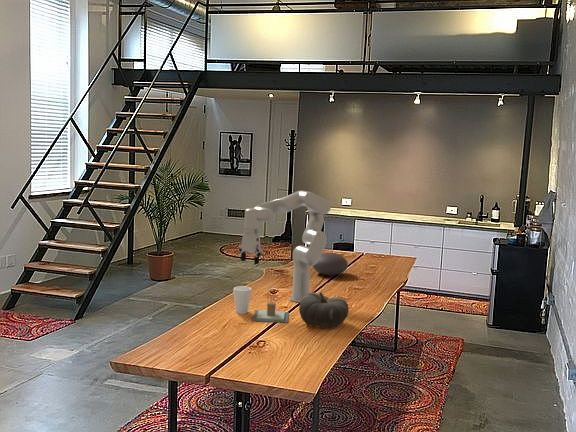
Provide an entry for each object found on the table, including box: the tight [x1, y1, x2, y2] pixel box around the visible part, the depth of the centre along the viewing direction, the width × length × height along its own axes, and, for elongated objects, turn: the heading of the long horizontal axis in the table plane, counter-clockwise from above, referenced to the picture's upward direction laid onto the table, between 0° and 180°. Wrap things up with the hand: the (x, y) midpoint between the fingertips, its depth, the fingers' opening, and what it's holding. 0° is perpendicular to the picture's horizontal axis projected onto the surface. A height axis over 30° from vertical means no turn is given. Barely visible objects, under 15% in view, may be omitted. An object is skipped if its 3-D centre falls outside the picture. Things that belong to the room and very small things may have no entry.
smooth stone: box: [311, 252, 349, 276], centre depth 434 cm, size 25×25×15 cm
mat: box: [251, 309, 290, 324], centre depth 331 cm, size 18×18×1 cm
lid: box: [257, 301, 286, 321], centre depth 331 cm, size 14×14×7 cm
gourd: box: [298, 291, 349, 329], centre depth 322 cm, size 25×25×17 cm
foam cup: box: [232, 285, 252, 315], centre depth 337 cm, size 10×9×13 cm
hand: (249, 262), depth 344 cm, fingers open, 9 cm apart
